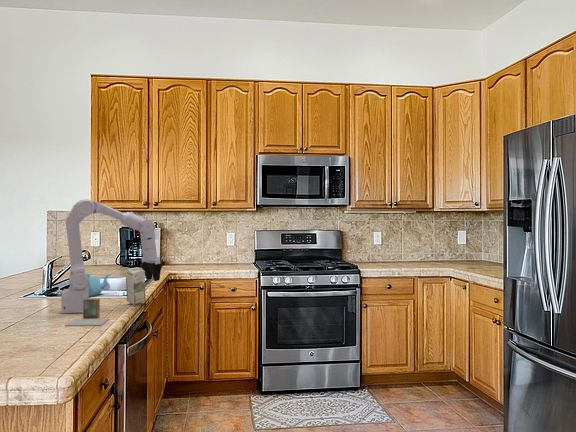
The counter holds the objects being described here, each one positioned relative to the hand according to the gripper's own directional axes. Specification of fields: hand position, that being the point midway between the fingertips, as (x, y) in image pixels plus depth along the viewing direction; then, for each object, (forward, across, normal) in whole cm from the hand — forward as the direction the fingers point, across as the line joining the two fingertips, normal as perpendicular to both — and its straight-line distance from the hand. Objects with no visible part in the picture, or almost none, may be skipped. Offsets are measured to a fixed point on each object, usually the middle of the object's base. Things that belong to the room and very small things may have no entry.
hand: (153, 280), depth 201 cm
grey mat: (+7, -18, +33) cm, 38 cm away
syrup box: (+9, +8, +5) cm, 13 cm away
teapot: (+8, +43, +14) cm, 46 cm away
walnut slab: (+7, -11, +30) cm, 33 cm away
